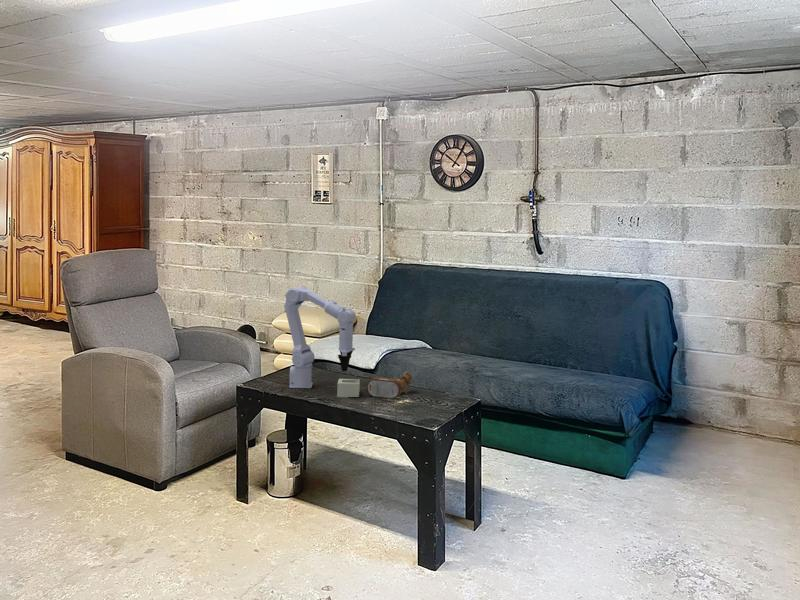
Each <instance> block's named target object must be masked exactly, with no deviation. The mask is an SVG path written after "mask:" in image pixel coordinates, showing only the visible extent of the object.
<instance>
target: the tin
mask: <svg viewBox="0 0 800 600" xmlns="http://www.w3.org/2000/svg"><path fill="white" fill-rule="evenodd" d="M366 391H367V393H368V394H369V395H370V396H371V397H373V398H378V397H381V398H380V399H387V398H388V400H394V399H396V398H398V397H399V396H400V395H401V393H402V392H401V391H402V387H401V384H400V383H399V382H398V381H397V380H395V379H394V378H390V377H388V378H387V377H380V376H375V377H371V378H370V379H369V381H368V382H367V384H366Z"/></svg>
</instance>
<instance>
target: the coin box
mask: <svg viewBox="0 0 800 600" xmlns="http://www.w3.org/2000/svg"><path fill="white" fill-rule="evenodd" d="M360 384H361V380H360V378H339V379H338V381H337V386H336V387H337V388H336V389H337V391H336V393H337V394H336V398H348V397H360V393H359V392H360V387H361V386H360Z"/></svg>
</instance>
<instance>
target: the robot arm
mask: <svg viewBox="0 0 800 600" xmlns="http://www.w3.org/2000/svg"><path fill="white" fill-rule="evenodd" d="M284 296H285V304H284V310H285V313H286V318H287V322H288V326H289V330H290V335H291V339H292V343H293V349H292V351H291V354H292V357H291V362H292V364H293V366H290V368H289V388H290V389H291V388H292V389H311V388H312V386H313V384H314V383H313V382H312V365H313V362H314V361H315V354H314V352H313V350H312V349H311V346H310V345H309V344H308V343H307V341H306V336H305V333H304V329H303V324H302V320H301V315H300V313H299V308H300V307H301V305H302V304H303V303H304V302H306V301H307V302H311V303H313V304H315V305H316V306H318V307H320V308H321V309H324V313H325V314H327V315H329V316H330V317H332V318H334V319H335V320H337V322H338V323H339V324H338V325H339V333H338V335H339V337H338V339H339V341H338V343H339V344H338V351H339V353H340V354H337V357H338V359H339V363H340V368H341V372H347V371H348V369H349V366H350V361H351V358H352V354H353V352H354V351H356V348H355V347H353V340H354V339H353V338H354V337H353V334H354V321H355V320H356V313H355V311H353V310H352V309H350V308H347V307H345V306H341V305H340V304H338V302H337V301H335V300H333V301H332V300H331V301H327V299H325V298H323V297H321V296H320V295H318V294H317V293H316V292H314V291H313V290H312V289H311V288H308V287H306V286H304V285H302V286H299V287H292V288H289V289H288V290H287V292H286V293H285V295H284Z"/></svg>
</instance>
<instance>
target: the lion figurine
mask: <svg viewBox="0 0 800 600" xmlns="http://www.w3.org/2000/svg"><path fill="white" fill-rule="evenodd" d="M412 378H413V374H412V372H410V371H405V372H403V375H402V376H401V378H397V379H395V380H397V381H398V382H399V383H400V384H401V387H402V391H401V393H403V392H404V394H408V391H407V390H408V387H409V386H410V384H412V383H411V382H412V380H413V379H412ZM403 388H404V390H403Z"/></svg>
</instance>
